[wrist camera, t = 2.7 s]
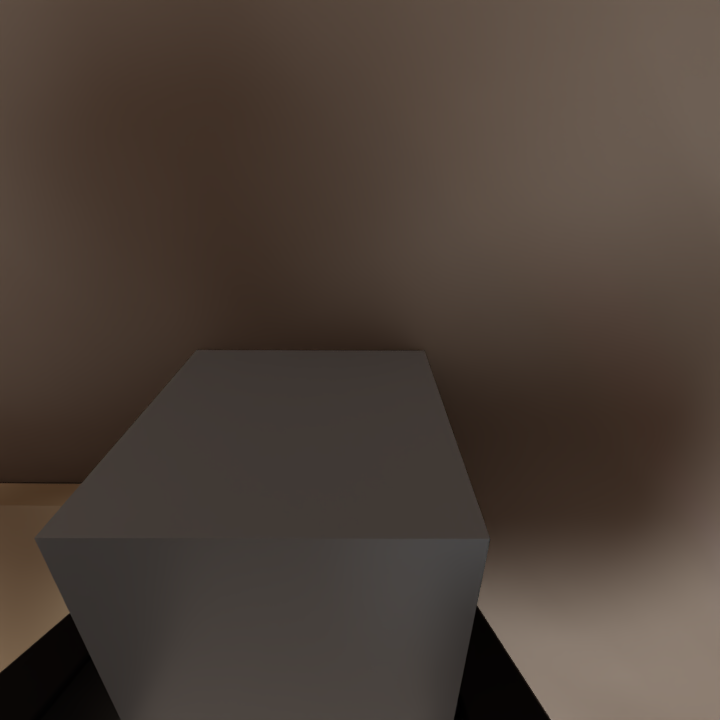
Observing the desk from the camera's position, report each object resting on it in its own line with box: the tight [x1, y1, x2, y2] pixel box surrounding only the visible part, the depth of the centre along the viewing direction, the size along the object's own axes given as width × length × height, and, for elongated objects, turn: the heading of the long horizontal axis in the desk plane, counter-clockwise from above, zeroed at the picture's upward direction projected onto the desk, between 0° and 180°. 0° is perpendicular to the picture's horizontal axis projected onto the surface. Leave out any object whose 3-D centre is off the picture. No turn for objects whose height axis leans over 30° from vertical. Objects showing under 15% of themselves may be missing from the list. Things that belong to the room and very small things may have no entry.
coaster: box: [0, 483, 80, 672], centre depth 10 cm, size 10×10×1 cm
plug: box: [34, 350, 490, 720], centre depth 7 cm, size 4×9×4 cm
